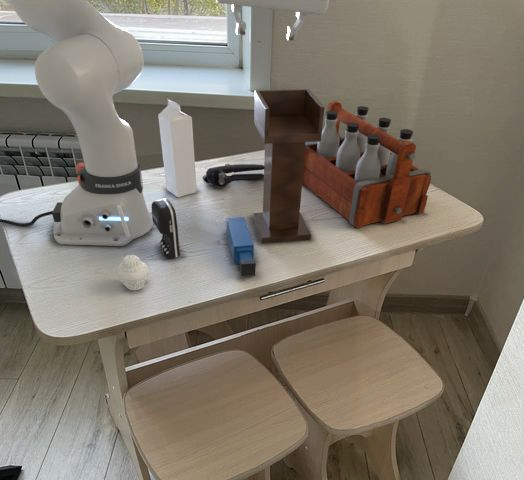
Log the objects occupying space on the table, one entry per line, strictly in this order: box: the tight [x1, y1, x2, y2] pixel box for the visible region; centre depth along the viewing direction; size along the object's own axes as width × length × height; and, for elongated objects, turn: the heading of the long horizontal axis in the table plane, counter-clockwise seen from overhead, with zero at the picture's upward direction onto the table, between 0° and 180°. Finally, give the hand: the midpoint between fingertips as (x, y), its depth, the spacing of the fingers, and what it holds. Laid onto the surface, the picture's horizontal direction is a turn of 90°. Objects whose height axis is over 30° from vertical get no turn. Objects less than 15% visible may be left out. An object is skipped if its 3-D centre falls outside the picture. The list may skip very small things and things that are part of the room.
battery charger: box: [150, 198, 181, 259], centre depth 106 cm, size 7×4×11 cm, turn 25°
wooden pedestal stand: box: [252, 88, 325, 245], centre depth 108 cm, size 12×12×29 cm
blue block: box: [225, 216, 257, 277], centre depth 108 cm, size 4×18×4 cm, turn 11°
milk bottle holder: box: [302, 100, 432, 229], centre depth 126 cm, size 21×35×19 cm, turn 26°
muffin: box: [116, 254, 150, 291], centre depth 97 cm, size 6×6×7 cm
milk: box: [157, 98, 198, 198], centre depth 124 cm, size 6×6×22 cm
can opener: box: [202, 163, 264, 188], centre depth 134 cm, size 18×7×6 cm, turn 114°
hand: (266, 36), depth 90 cm, fingers open, 8 cm apart
